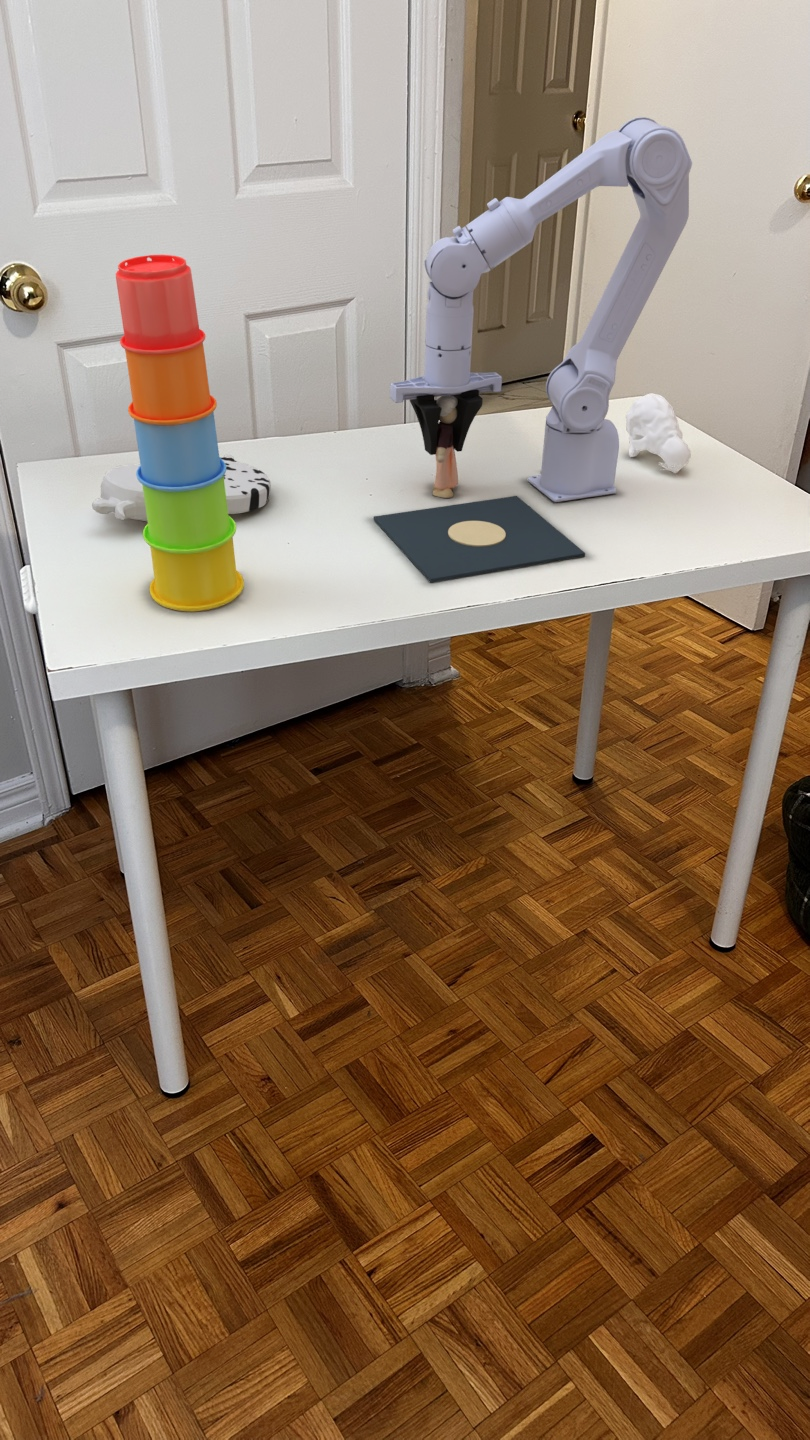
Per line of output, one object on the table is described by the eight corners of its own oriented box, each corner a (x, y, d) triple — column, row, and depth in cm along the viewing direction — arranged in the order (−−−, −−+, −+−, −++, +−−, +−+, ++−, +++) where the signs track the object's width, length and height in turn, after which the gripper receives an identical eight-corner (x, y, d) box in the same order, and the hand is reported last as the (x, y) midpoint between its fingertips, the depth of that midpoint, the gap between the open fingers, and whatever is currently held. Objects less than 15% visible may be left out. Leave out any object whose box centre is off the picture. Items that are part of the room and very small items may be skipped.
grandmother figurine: (462, 501, 146) (466, 404, 139) (432, 501, 146) (436, 405, 139) (453, 478, 152) (457, 385, 145) (425, 479, 152) (428, 385, 145)
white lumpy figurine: (665, 386, 159) (712, 422, 151) (653, 442, 165) (698, 479, 156) (626, 390, 157) (672, 427, 149) (615, 447, 163) (659, 485, 154)
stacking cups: (242, 612, 120) (219, 272, 101) (145, 613, 120) (103, 271, 100) (245, 568, 129) (225, 247, 109) (155, 569, 128) (118, 246, 108)
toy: (95, 477, 149) (91, 534, 132) (95, 442, 146) (91, 495, 130) (260, 489, 154) (277, 544, 137) (263, 455, 152) (280, 508, 135)
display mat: (516, 499, 147) (516, 494, 147) (585, 556, 133) (585, 551, 133) (373, 520, 141) (373, 514, 140) (430, 582, 127) (430, 577, 127)
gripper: (487, 330, 144) (480, 433, 151) (381, 340, 139) (380, 446, 147) (512, 346, 138) (504, 452, 146) (403, 356, 134) (400, 465, 141)
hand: (443, 450), depth 146 cm, fingers closed on grandmother figurine, 3 cm apart
